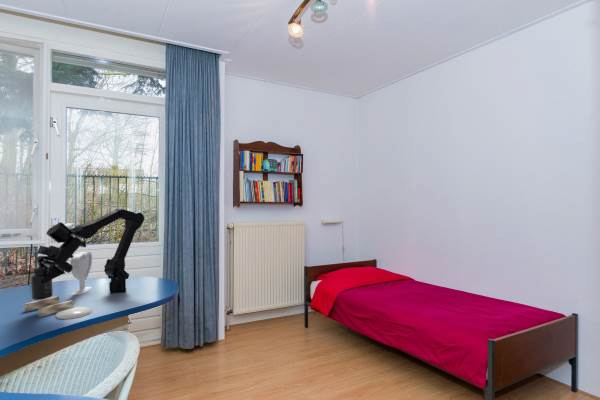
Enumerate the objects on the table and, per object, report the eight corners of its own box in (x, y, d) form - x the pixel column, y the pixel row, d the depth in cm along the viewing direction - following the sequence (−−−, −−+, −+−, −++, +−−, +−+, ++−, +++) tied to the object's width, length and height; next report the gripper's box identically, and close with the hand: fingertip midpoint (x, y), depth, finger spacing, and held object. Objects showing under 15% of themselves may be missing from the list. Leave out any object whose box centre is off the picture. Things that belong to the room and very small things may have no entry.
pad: (93, 306, 147) (93, 305, 147) (90, 316, 136) (90, 314, 136) (59, 310, 142) (59, 309, 142) (52, 320, 131) (52, 319, 131)
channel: (57, 302, 152) (57, 295, 152) (73, 307, 145) (73, 300, 145) (24, 311, 141) (24, 303, 141) (39, 316, 135) (39, 309, 135)
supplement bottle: (50, 293, 146) (50, 264, 145) (54, 297, 141) (53, 267, 141) (30, 297, 141) (29, 267, 141) (32, 301, 136) (32, 270, 136)
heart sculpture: (81, 294, 163) (80, 256, 163) (69, 295, 162) (68, 256, 162) (94, 285, 178) (93, 250, 178) (83, 286, 178) (82, 250, 177)
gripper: (40, 236, 148) (9, 267, 139) (63, 239, 139) (31, 273, 130) (61, 252, 155) (33, 282, 146) (84, 256, 146) (56, 289, 137)
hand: (37, 281), depth 140 cm, fingers closed on supplement bottle, 7 cm apart
